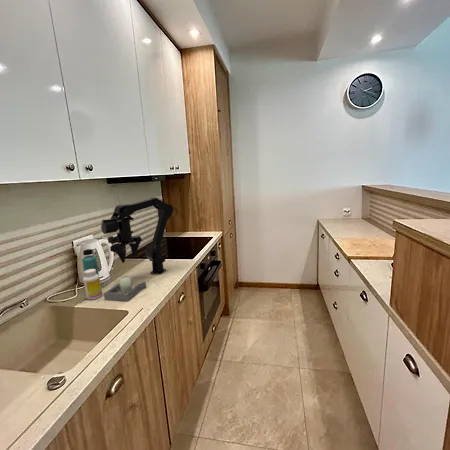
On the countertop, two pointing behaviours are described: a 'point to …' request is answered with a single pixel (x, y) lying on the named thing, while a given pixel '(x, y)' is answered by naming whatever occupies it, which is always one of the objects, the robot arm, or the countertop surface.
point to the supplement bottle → (92, 284)
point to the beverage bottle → (89, 261)
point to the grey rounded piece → (125, 284)
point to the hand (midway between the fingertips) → (128, 259)
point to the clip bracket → (113, 294)
